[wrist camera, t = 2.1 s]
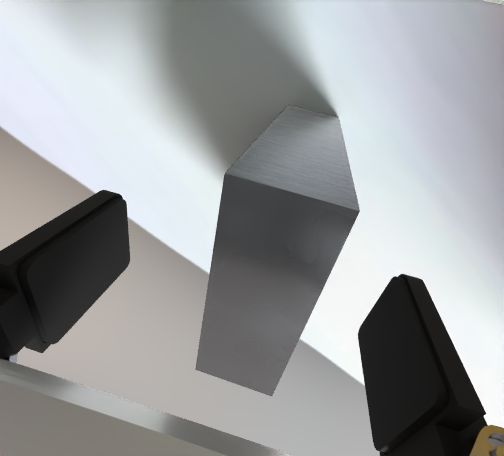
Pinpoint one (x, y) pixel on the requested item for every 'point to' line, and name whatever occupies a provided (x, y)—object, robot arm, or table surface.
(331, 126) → the brushed metal pillar
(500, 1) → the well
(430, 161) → the table surface
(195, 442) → the robot arm
